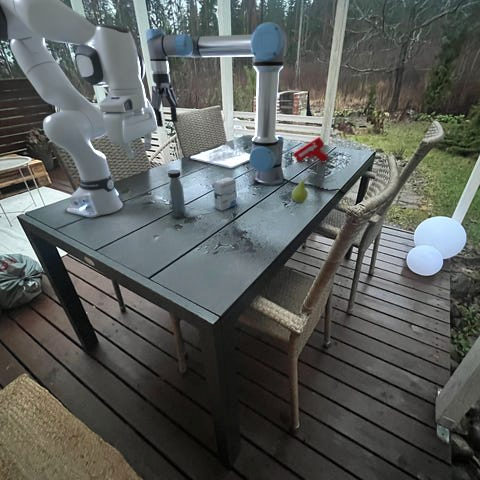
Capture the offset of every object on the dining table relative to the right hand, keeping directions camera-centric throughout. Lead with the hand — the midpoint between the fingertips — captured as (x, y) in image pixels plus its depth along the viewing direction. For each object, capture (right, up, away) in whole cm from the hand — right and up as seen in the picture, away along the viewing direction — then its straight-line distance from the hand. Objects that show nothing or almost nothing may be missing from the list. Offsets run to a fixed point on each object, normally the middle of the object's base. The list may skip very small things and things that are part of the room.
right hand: (167, 124), depth 132 cm
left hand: (+6, -31, -52) cm, 61 cm away
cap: (+10, -31, -31) cm, 45 cm away
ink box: (+29, -42, -14) cm, 53 cm away
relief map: (+25, -3, +48) cm, 54 cm away
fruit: (+62, -40, -11) cm, 74 cm away
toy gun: (+80, -7, +40) cm, 89 cm away
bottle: (+11, -47, -21) cm, 52 cm away
